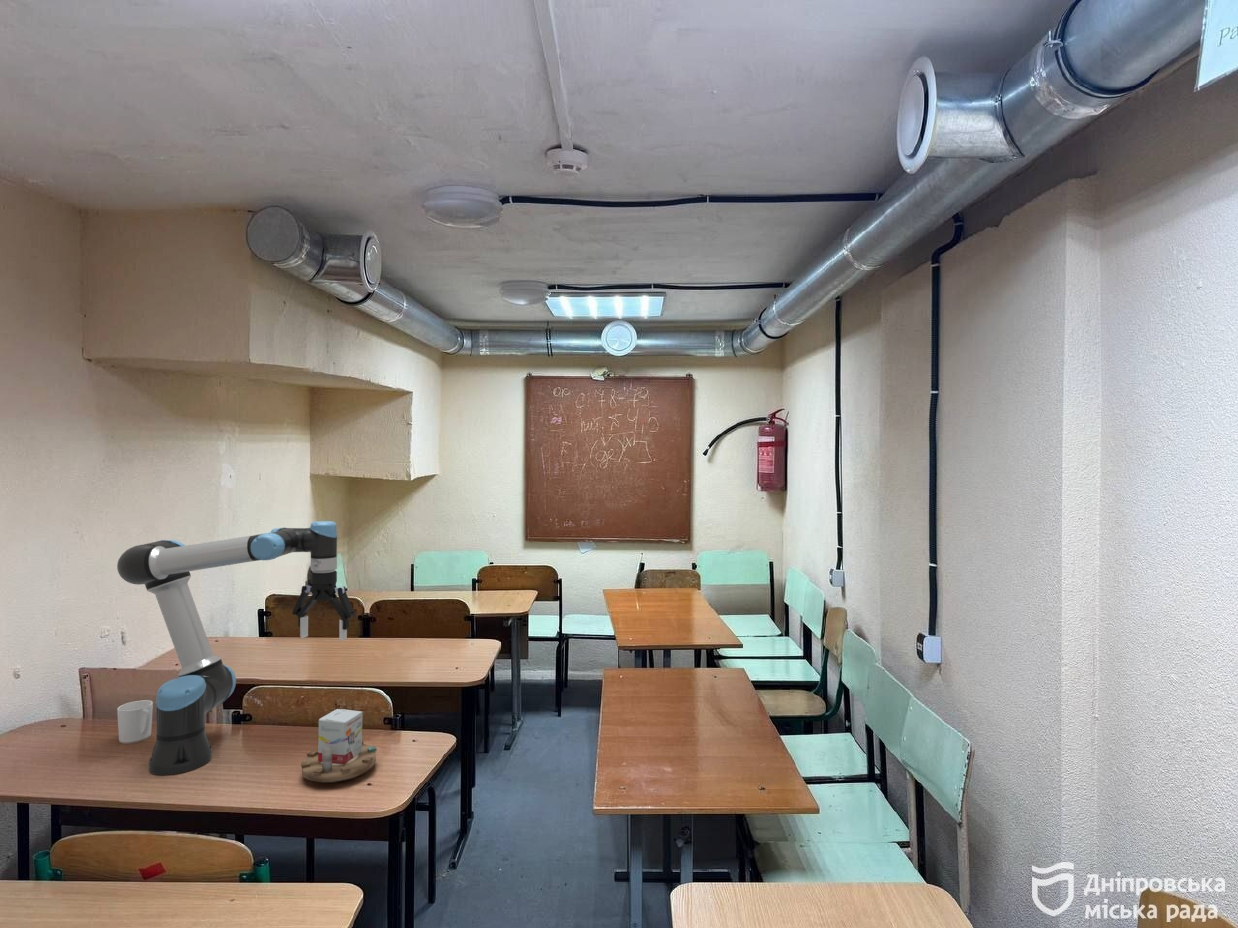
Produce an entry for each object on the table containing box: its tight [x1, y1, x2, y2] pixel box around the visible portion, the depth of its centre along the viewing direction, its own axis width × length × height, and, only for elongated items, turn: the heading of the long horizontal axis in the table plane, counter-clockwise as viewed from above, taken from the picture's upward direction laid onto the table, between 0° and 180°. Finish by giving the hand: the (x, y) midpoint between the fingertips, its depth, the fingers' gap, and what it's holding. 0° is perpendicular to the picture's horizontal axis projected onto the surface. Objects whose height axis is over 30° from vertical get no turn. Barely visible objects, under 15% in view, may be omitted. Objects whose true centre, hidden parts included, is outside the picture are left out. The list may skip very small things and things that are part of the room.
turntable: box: [300, 740, 377, 783], centre depth 181 cm, size 19×19×8 cm
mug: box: [116, 699, 154, 745], centre depth 201 cm, size 11×9×10 cm
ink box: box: [317, 708, 363, 764], centre depth 181 cm, size 9×9×12 cm
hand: (323, 638), depth 201 cm, fingers open, 13 cm apart
